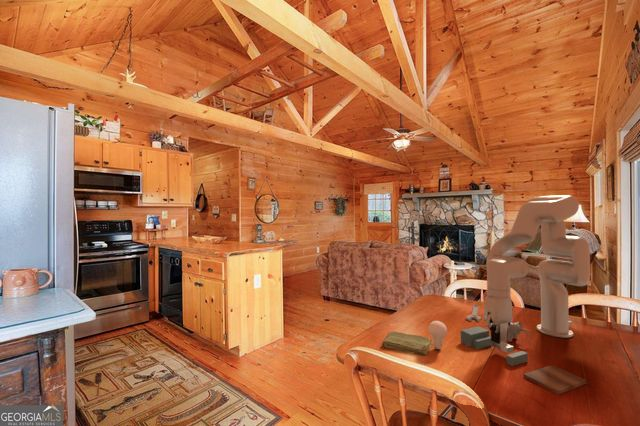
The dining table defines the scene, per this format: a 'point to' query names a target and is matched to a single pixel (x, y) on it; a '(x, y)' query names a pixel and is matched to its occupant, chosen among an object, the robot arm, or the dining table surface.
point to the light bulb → (437, 333)
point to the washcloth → (407, 343)
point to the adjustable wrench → (474, 314)
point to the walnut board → (555, 379)
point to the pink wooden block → (503, 339)
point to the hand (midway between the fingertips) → (499, 340)
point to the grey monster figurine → (515, 331)
